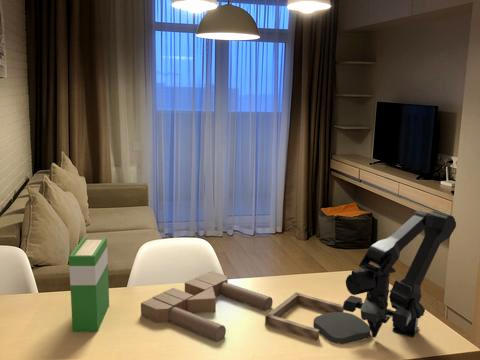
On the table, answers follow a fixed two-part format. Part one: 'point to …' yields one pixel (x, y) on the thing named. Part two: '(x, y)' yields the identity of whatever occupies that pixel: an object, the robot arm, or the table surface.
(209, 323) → the wooden block construction
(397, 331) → the robot arm
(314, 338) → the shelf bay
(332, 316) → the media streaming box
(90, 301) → the hardback book
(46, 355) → the table surface
